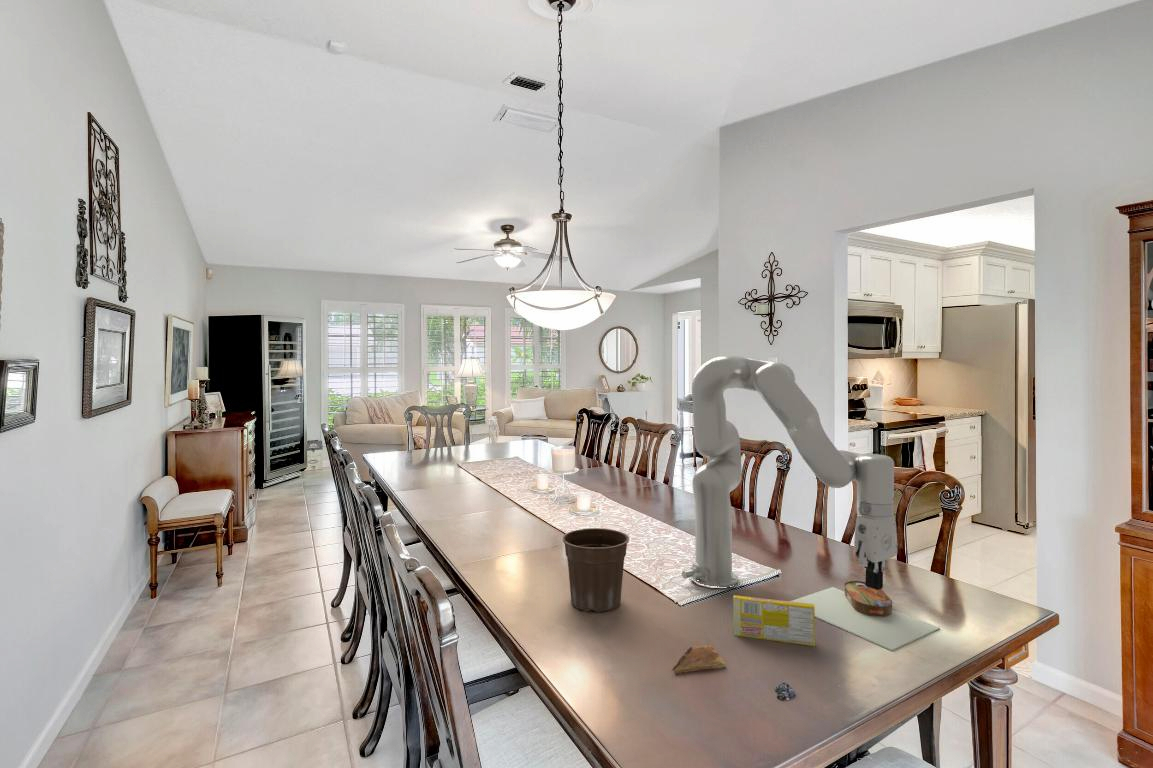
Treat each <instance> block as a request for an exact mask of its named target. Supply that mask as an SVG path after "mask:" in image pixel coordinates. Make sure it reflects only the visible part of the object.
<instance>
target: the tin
mask: <svg viewBox="0 0 1153 768" xmlns="http://www.w3.org/2000/svg"><path fill="white" fill-rule="evenodd" d="M843 586H844V592H845V596H846V597H847V599H848V600H849V602H850V603H851V604H852V606H853V607H854V608H855V609H856V610H857V611H859V612H861V613H864V614H867V615H880V616H887V615H890V614H891V613H892V610H893V603H894V602H893V600H892V599H891V598H890V596H889V595H888V594H887V593H885V591H884V589H883V588H882V589H880V590H876V589H873V588H870V587H867V586H866V581H860V580H859V581H858V580H852V581H851V580H850V581H846V582H845V583H844V584H843Z"/></svg>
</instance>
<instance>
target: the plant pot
mask: <svg viewBox="0 0 1153 768" xmlns="http://www.w3.org/2000/svg"><path fill="white" fill-rule="evenodd" d="M562 542H563V543H564V551H565V556H566V558H567V569H568V570H567V571H568V581H569V591H570V602H571V604H572V605H573V606H574V607H575V608H576V609H579V610H580V611H581V610H582V611H585V612H589V611H594V612H596V613H603V612H609V611H612V610H614V609H616V608H619V606H620V605H621V600H622V588H623V577H624V564H625V557H626V556H627V546H628V543H629V542H630V537H629V535H627V534H626V533H625V532H622V531H619V530H616V529H611V528H610V529H609V528H599V527H596V528H595V527H593V528H591V527H590V528H580V529H574V530H571V531H569V532H567V533H565V534H564V535H563V536H562ZM608 610H609V611H608Z"/></svg>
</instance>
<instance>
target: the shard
mask: <svg viewBox="0 0 1153 768" xmlns="http://www.w3.org/2000/svg"><path fill="white" fill-rule="evenodd" d="M725 667H726V663H725V661H724V659H723V657H722V656H721V655H720V654H719V653H718V651H717V650H716V649H715V647H714V646H713V645H705V646H694V647H693V646H690V647H688V649H687V650H686V652H684V654H683V655H682V656H680V658H679V660H678V661H677V663H676V664H675V666H673V668H672V670H671V671H673V672H674V674H675V673H679V674H682V673H681V672H685V673H689V672H688V671H690V672H694V671H693V670H697V671H699V670H700V671H701V669H703V670H709V668H710V670H711V668H713V669H722V668H725Z"/></svg>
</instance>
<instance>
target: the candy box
mask: <svg viewBox="0 0 1153 768" xmlns="http://www.w3.org/2000/svg"><path fill="white" fill-rule="evenodd" d="M732 600H733V601H732V602H733V603H732V604H733V605H732V608H733V611H732V613H733V615H732V616H733V620H732V621H733V623H732V625H733V626H732V628H733V629H732V632H733V633H732V634H733V636H735V637H736V636H738V637H744V638H752V639H758V640H765V641H773V642H781V643H786V644H787V643H789V644H794V645H801V646H809V647H815V646H816V635H815V633H816V632H815V631H816V630H815V620H816V619H815V618H816V617H815V606H814V604H808V603H799V602H790V601H791V600H790V601H789V600H788V601H787V600H779V599H770V598H761V597H752V596H745V595H744V596H743V595H735V594H734V595H733V598H732Z"/></svg>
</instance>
